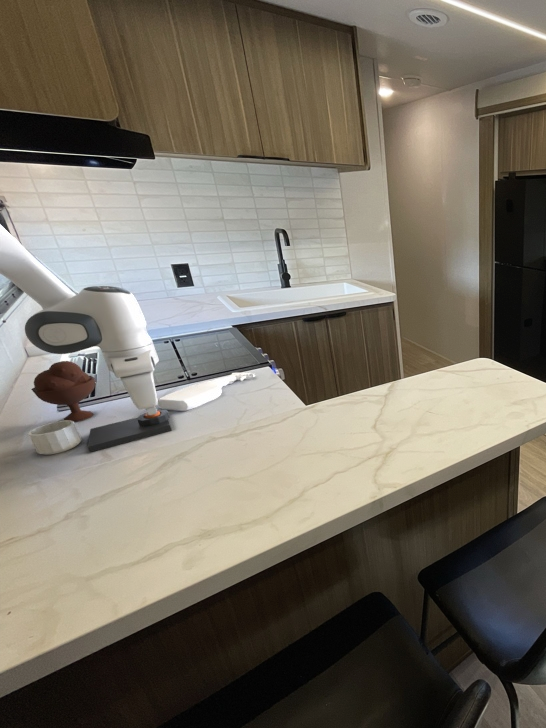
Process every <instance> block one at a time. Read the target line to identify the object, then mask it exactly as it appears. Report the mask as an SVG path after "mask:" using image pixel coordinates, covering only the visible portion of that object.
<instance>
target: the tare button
mask: <svg viewBox="0 0 546 728" xmlns="http://www.w3.org/2000/svg"><path fill="white" fill-rule="evenodd" d="M145 413H146V414H145V418H152V417H156V416H158V415H160V411H157V414H154V415H148V414H147V412H145Z"/></svg>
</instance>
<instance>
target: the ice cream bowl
mask: <svg viewBox="0 0 546 728" xmlns="http://www.w3.org/2000/svg"><path fill="white" fill-rule="evenodd" d="M33 386H34V387H33V388H31V391H32V392H33V393H34V395H35V396H36V397H37V398H38V399H39V400H41V401H42V402H45V403H48V404H51V405H57V406H67V407H68V408H69V409H70V413H69V414H67V415H66V416H65V417H64V418H63V420H71V421H74V423H77V422H81V421H82V422H83V421H84V420H87V419H89V418H92V417H93V416H94V415H95V414H94V413H93V412H92V411H90V410H84V409H83V410H81V409H82V408H80V406H79V404H80V402H81V401H83V400H85V399H86V398H87V397H89V396H90V395H91V394H92V392H93V391H94V390H95V387H96V379H95V377H94V376H92V375H90V374H88V373H86V372H85V371H83V370H82V368H81V367H80V365H78V364H77V363H76V362H73V361H69V360H61V361H58V362H54V363H52V364H51V365H50V367H49V368H48V369H46V370H43V371H42V372H40V373H38V374H37V375H36V376H35V378H34V379H33Z"/></svg>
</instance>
